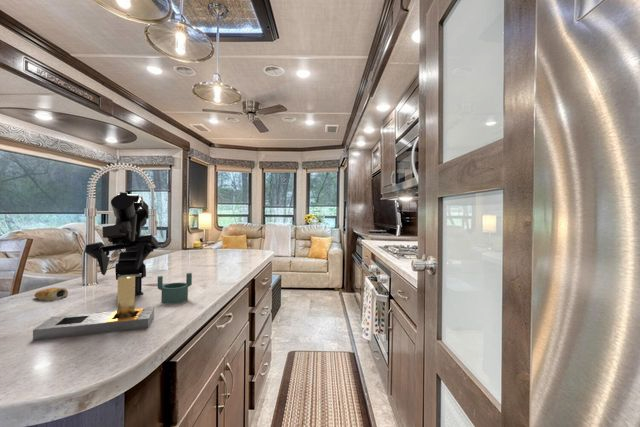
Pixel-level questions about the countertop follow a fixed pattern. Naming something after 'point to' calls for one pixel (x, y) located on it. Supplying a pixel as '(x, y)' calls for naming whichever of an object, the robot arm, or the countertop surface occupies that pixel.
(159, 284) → the bracket
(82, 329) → the hole rail
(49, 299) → the pastry
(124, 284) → the brass peg
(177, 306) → the countertop surface
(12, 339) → the countertop surface
